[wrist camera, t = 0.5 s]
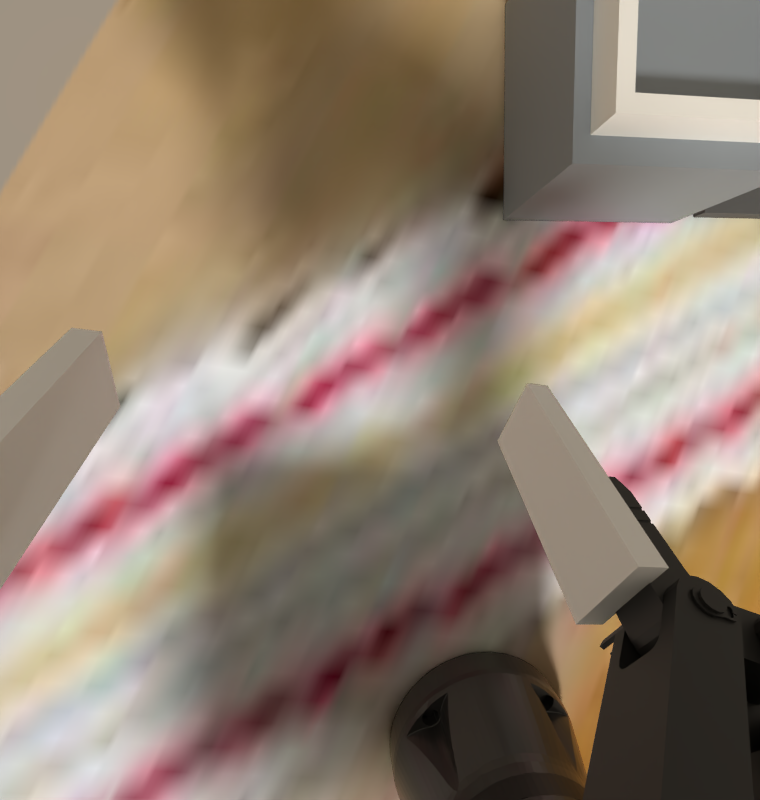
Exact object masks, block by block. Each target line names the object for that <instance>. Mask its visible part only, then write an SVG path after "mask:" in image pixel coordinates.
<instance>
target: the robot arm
mask: <svg viewBox="0 0 760 800" xmlns="http://www.w3.org/2000/svg"><path fill="white" fill-rule="evenodd" d="M119 408H120V403H119V399H118V395H117V391H116V387H115V383H114V379H113V375H112V371H111V367H110V363H109V358H108V354H107V350H106V346H105V342H104V338H103V334H102V331H94V330H85V329H77V328H71V329H70V330H69V331H68V332H67V333H66V334H65V335H64V336H62V337H61V338H60V339H59V340H58V341H57V342H56V343H55V344H54V345H53V346H52V347H51V348H50V349H49V350H48V351H47V352H46V353H45V354H44V355H42V356H41V357H40V358H39V359H38V360H37V361H36V362H35V363H34V364H33V365H32V366H31V367H30V368H29V369H28V370H27V371H26V372H25V373H24V374H22V375H21V376H20V377H19V378H18V379H17V380H16V381H15V382H14V383H13V384H12V385H11V386H10V387H9V388H8V389H7V390H6V391H5V392H4V393H3V394H1V395H0V589H1V587H2V586H3V584H4V583H5V581H6V580H7V578H8V577H9V575H10V574H11V572H12V571H13V569H14V567H15V566H16V564H17V563H18V561H19V560H20V558H21V557H22V555H23V554H24V552H25V551H26V549H27V548H28V546H29V545H30V543H31V542H32V540H33V539H34V537H35V536H36V534H37V532H38V531H39V529H40V528H41V526H42V525H43V523H44V522H45V520H46V519H47V517H48V516H49V514H50V513H51V511H52V510H53V508H54V507H55V505H56V504H57V502H58V501H59V499H60V497H61V496H62V494H63V493H64V491H65V490H66V488H67V487H68V485H69V484H70V482H71V481H72V479H73V478H74V476H75V475H76V473H77V472H78V470H79V469H80V467H81V466H82V464H83V462H84V461H85V459H86V458H87V456H88V455H89V453H90V452H91V450H92V449H93V447H94V446H95V444H96V443H97V441H98V440H99V438H100V437H101V435H102V434H103V432H104V431H105V429H106V427H107V426H108V424H109V423H110V421H111V420H112V418H113V417H114V415H115V414H116V412H117V411H118V409H119ZM497 442H498V444H499V446H500V449H501V451H502V453H503V455H504V458H505V460H506V462H507V465H508V467H509V469H510V472H511V474H512V476H513V479H514V481H515V483H516V486H517V488H518V490H519V493H520V495H521V497H522V500H523V502H524V504H525V507H526V509H527V511H528V514H529V516H530V518H531V520H532V523H533V525H534V527H535V530H536V532H537V534H538V537H539V539H540V541H541V544H542V546H543V548H544V551H545V553H546V555H547V558H548V560H549V562H550V565H551V567H552V569H553V572H554V574H555V576H556V579H557V581H558V583H559V586H560V588H561V590H562V592H563V595H564V597H565V599H566V602H567V604H568V606H569V609H570V611H571V613H572V616H573V618H574V620H575V623H576V624H604V623H605V622H606V621H607V620H608V619H610V618H611V617H612V616H613V615H614V614H615V613H616V614H617V616H618V618H619V620H620V622H621V624H622V625H621V626H620V627H619V628H618V629H617V630H615V631H614V632H613V633H612V634H610V635H609V636H608V637H607V638H605V639H604V640H603V641H602V643H601V645H600V647H601V648H602V649H605V648H607V647H608V646H609V645H610V644H612V643H613V642H614V644H613V649H612V652H611V653H610V654H611V659H610V664H609V669H608V674H607V679H606V684H605V689H604V694H603V699H602V704H601V709H600V714H599V719H598V724H597V729H596V734H595V739H594V744H593V749H592V754H591V759H590V764H589V769H588V774H586V771H585V767H584V764H583V761H582V757H581V754H580V751H579V747H578V744H577V740H576V737H575V734H574V730H573V727H572V723H571V721H570V718H569V716H568V713H567V711H566V709H565V707H564V705H563V704H562V702H561V700H560V699H559V697H558V696H557V694H556V693H555V692H554V690H553V689H552V687H551V686H550V684H549V683H548V681H547V680H546V679H545V677H544V676H543V675H542V674H541V673H540V672H539V671H538V670H537V669H535V668H534V667H533V666H531V665H530V664H528V663H527V662H525V661H523V660H521V659H518V658H516V657H513V656H510V655H506V654H501V653H491V652H483V653H474V654H468V655H464V656H460V657H457V658H454V659H452V660H449V661H447V662H445V663H443V664H441V665H439V666H438V667H436V668H435V669H433V670H432V671H430V672H429V673H427V674H426V675H425V676H424V677H423V678H422V679H420V680H419V681H418V682H417V683H416V684H415V685H414V687H413V688H412V689H411V690H410V691H409V693H408V694H407V695H406V697H405V698H404V700H403V702H402V703H401V705H400V707H399V709H398V711H397V714H396V716H395V719H394V722H393V726H392V730H391V736H390V755H391V761H392V768H393V775H394V781H395V785H396V789H397V792H398V795H399V798H400V800H760V615H759V614H756V613H753V612H750V611H747V610H744V609H742V608H739V607H736V606H733V604H732V602H731V601H730V600H729V599H728V598H727V597H726V596H725V595H724V594H723V593H722V592H721V591H720V590H719V589H717V588H716V587H715V586H713V585H712V584H711V583H709V582H707V581H705V580H703V579H701V578H699V577H695V576H690V575H689V574H688V573H687V571H686V570H685V569H684V567H683V566H682V564H681V563H680V562H679V560H678V559H677V557H676V556H675V554H674V553H673V551H672V550H671V549H670V547H669V546H668V544H667V543H666V541H665V540H664V539H663V537H662V536H661V534H660V533H659V531H658V530H657V529H656V527H655V526H654V524H651V522H650V521H651V520H650V519H649V517H648V516H647V514H646V513H645V511H642V509H641V508H642V507H641V506H640V504H639V503H638V501H637V500H636V498H635V497H634V496H633V494H632V493H631V491H630V490H628V489H627V488H626V487H625V486H624V485H623V484H622V483H621V482H620V481H619V480H617V479H616V478H615V477H608V476H607V474H606V473H605V471H604V470H603V468H602V467H601V465H600V464H599V462H598V461H597V459H596V458H595V456H594V455H593V453H592V452H591V450H590V449H589V447H588V446H587V444H586V443H585V441H584V440H583V438H582V437H581V435H580V434H579V432H578V431H577V429H576V428H575V426H574V425H573V423H572V422H571V420H570V419H569V417H568V416H567V414H566V413H565V411H564V410H563V408H562V407H561V405H560V404H559V402H558V401H557V399H556V398H555V396H554V395H553V393H552V392H551V390H550V389H549V387H548V386H546V385H538V384H530V383H527V384H526V386H525V388H524V390H523V392H522V394H521V396H520V398H519V400H518V402H517V404H516V406H515V408H514V410H513V411H512V413H511V415H510V417H509V419H508V421H507V423H506V425H505V427H504V429H503V431H502V433H501V435H500V437H499V439H498V441H497Z"/></svg>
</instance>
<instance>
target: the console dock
mask: <svg viewBox="0 0 760 800" xmlns="http://www.w3.org/2000/svg"><path fill="white" fill-rule="evenodd" d="M759 187H760V0H508V1H507V3H506V5H505V101H504V215H503V220H540V221H591V222H641V223H672V222H675V221H677V220H680V219H682V218H685V217H687V216H690V215H692V214H694V213H697V212H699V211H702V210H704V209H707V208H709V207H712V206H714V205H717V204H719V203H722V202H724V201H727V200H729V199H732V198H734V197H736V196H739V195H741V194H744V193H746V192H749V191H751V190H754V189H756V188H759Z"/></svg>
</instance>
